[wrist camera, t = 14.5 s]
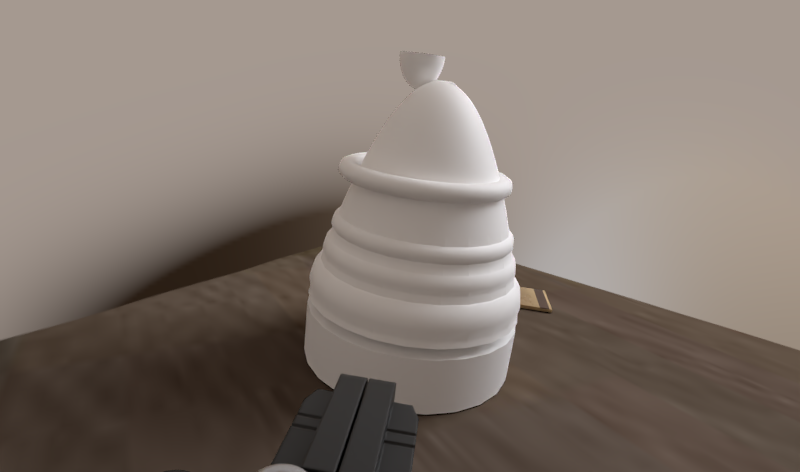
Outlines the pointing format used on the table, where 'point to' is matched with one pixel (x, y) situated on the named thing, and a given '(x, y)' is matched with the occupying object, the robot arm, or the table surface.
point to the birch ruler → (534, 300)
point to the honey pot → (419, 257)
